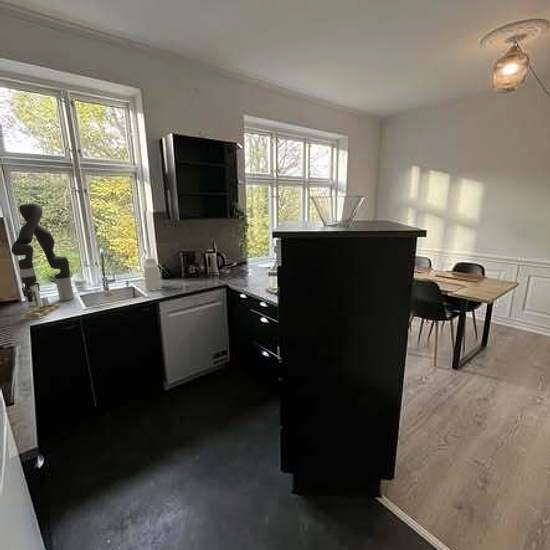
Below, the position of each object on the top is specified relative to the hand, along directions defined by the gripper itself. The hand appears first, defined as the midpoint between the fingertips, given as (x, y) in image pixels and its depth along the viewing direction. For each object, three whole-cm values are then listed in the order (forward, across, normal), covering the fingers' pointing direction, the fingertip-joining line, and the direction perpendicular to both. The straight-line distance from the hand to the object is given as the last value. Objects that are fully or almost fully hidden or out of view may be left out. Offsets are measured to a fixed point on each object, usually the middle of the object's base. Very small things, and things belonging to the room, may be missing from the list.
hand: (33, 300), depth 198 cm
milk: (+11, -50, +63) cm, 81 cm away
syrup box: (+5, 0, 0) cm, 5 cm away
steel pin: (+11, -11, 0) cm, 15 cm away
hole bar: (+11, -6, 0) cm, 12 cm away
